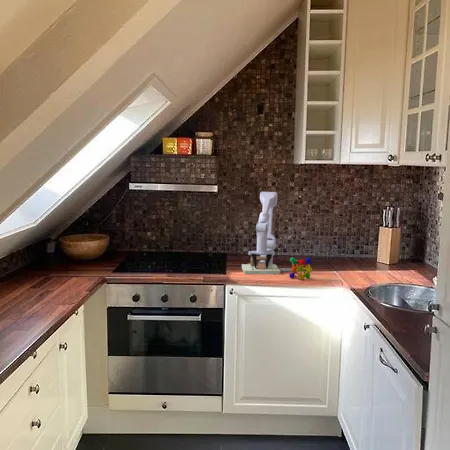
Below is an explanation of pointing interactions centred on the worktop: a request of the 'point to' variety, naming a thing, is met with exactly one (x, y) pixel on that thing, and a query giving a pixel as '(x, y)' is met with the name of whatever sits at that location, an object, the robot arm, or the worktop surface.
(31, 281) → the worktop surface
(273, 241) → the robot arm
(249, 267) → the puzzle board
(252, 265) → the walnut cover
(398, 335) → the worktop surface
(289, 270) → the slate pad
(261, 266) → the terracotta block
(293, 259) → the molecular model
